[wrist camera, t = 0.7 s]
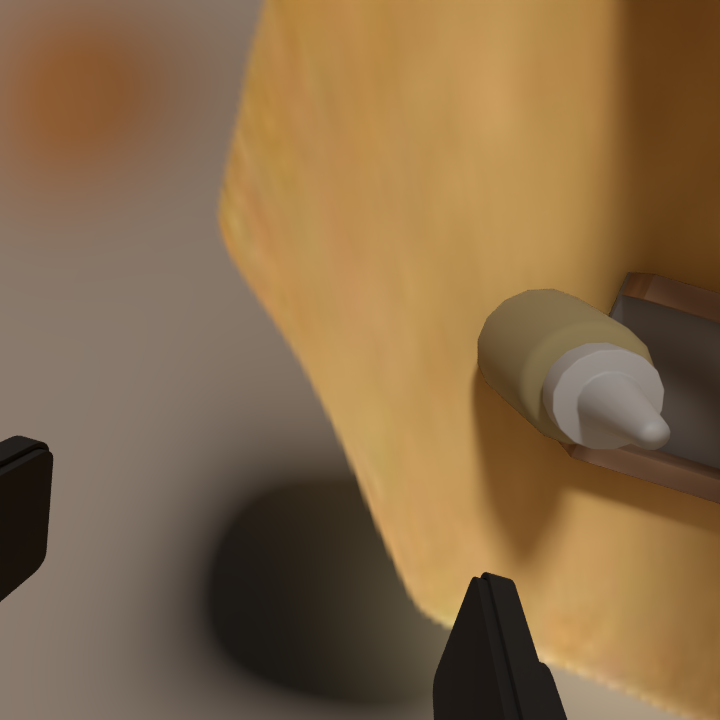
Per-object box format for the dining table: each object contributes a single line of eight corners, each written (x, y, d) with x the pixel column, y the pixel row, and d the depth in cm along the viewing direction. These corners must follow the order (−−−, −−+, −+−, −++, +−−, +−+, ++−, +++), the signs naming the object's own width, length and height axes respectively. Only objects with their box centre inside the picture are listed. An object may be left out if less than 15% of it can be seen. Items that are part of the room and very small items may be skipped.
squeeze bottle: (588, 378, 33) (786, 516, 16) (480, 400, 34) (552, 550, 17) (572, 272, 31) (773, 295, 14) (459, 299, 33) (515, 351, 15)
